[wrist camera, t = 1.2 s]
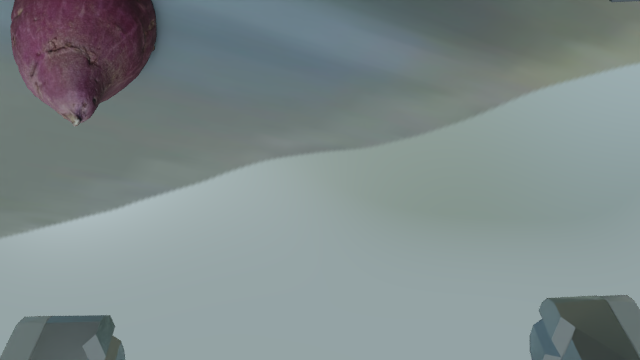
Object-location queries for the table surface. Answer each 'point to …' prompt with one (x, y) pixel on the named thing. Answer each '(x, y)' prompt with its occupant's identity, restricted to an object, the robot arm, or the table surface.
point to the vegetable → (81, 50)
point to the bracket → (622, 0)
